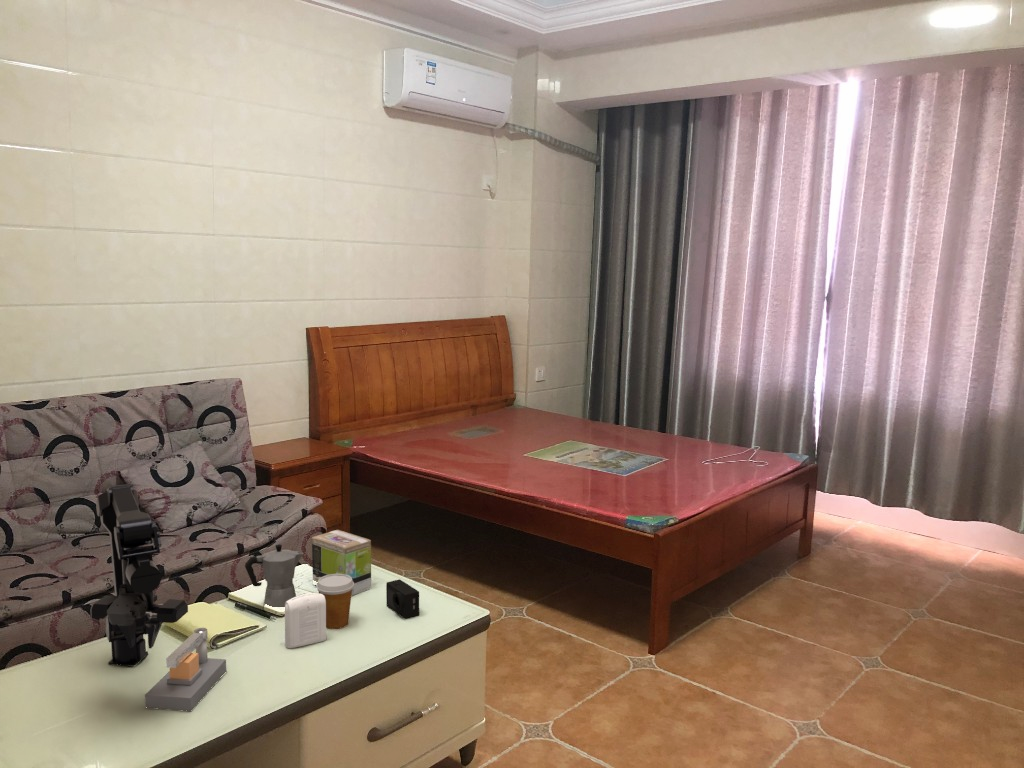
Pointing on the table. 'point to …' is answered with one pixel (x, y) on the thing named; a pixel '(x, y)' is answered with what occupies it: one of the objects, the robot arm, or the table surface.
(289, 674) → the table surface
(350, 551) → the tea box
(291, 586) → the coffeepot
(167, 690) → the socket block
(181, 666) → the plug
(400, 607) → the digital camera
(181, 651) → the retention bar
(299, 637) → the white rounded block
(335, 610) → the disposable coffee cup
